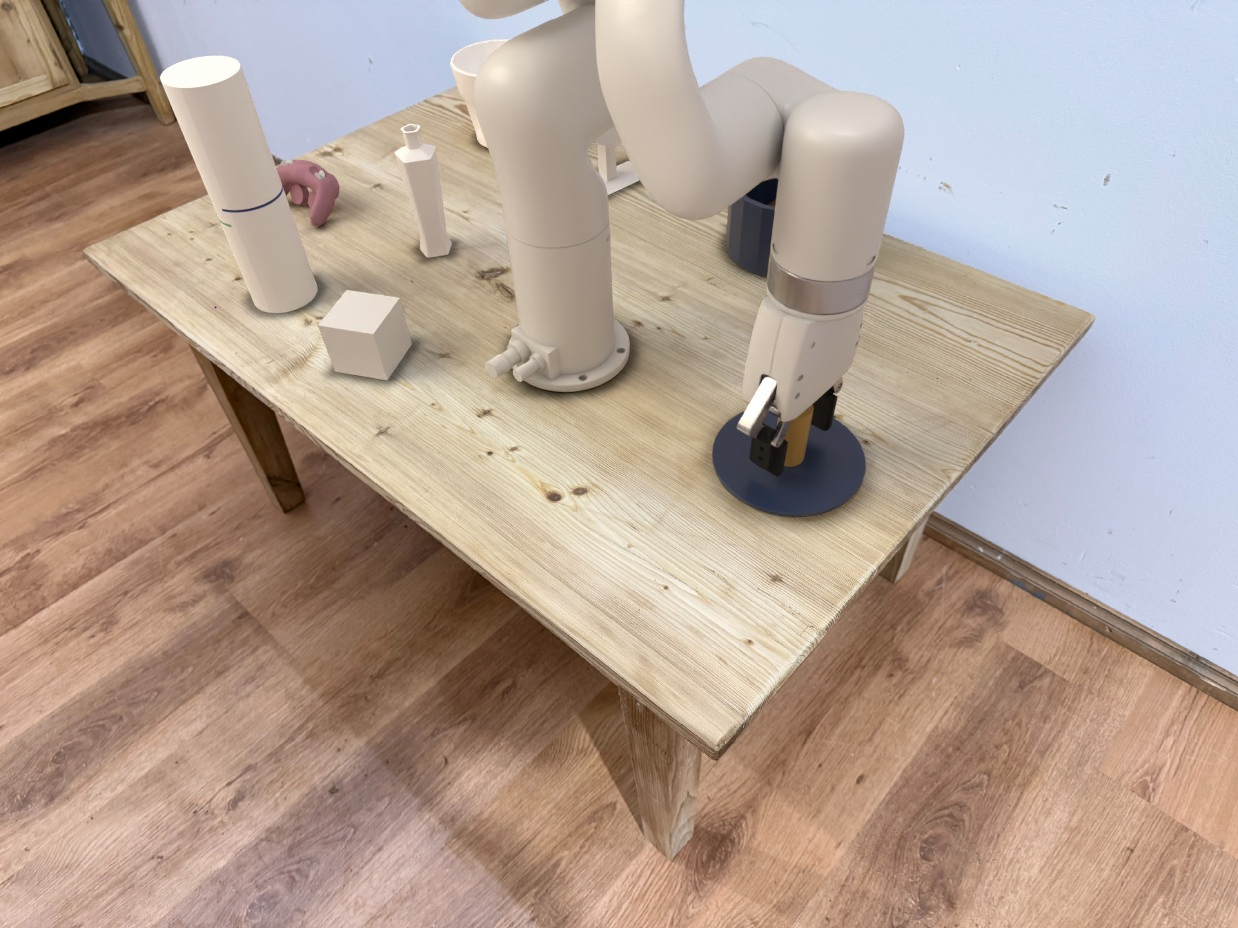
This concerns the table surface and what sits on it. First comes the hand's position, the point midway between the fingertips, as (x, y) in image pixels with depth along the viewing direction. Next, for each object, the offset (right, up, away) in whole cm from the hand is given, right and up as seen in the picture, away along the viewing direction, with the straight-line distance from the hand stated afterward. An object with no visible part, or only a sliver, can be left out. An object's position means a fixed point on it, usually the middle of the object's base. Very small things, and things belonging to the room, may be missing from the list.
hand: (790, 443), depth 75 cm
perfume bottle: (-37, +24, +27) cm, 52 cm away
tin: (+4, +24, +26) cm, 35 cm away
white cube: (-41, +9, +14) cm, 44 cm away
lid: (0, -1, +2) cm, 2 cm away
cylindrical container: (-53, +17, +22) cm, 60 cm away
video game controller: (-55, +31, +35) cm, 72 cm away
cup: (-31, +45, +47) cm, 72 cm away
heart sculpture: (-17, +35, +37) cm, 54 cm away
